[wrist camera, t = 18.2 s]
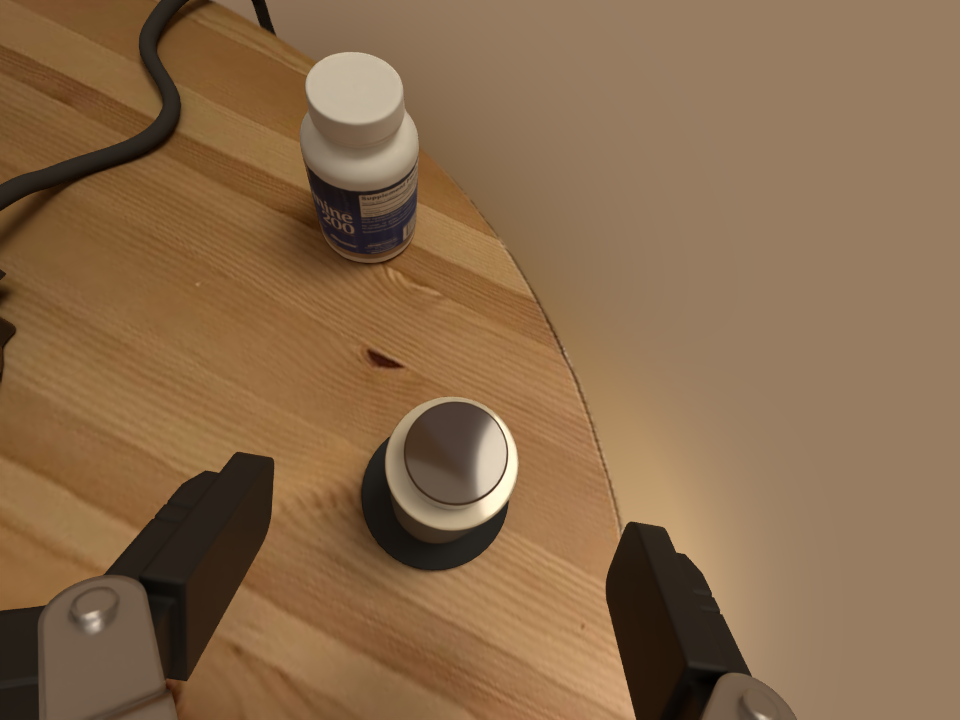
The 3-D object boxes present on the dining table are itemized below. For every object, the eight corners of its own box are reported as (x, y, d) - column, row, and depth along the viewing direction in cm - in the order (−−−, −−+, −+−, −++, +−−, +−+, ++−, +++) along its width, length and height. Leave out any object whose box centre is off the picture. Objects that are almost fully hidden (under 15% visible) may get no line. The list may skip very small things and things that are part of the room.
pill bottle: (304, 210, 31) (262, 62, 22) (386, 175, 33) (378, 24, 24) (350, 282, 30) (325, 156, 21) (433, 242, 31) (444, 109, 22)
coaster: (403, 400, 28) (403, 396, 27) (528, 458, 27) (530, 456, 27) (335, 530, 25) (333, 529, 24) (472, 596, 25) (473, 596, 24)
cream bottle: (371, 501, 25) (351, 460, 16) (433, 431, 27) (447, 355, 17) (444, 565, 24) (466, 560, 15) (502, 489, 26) (555, 443, 17)
